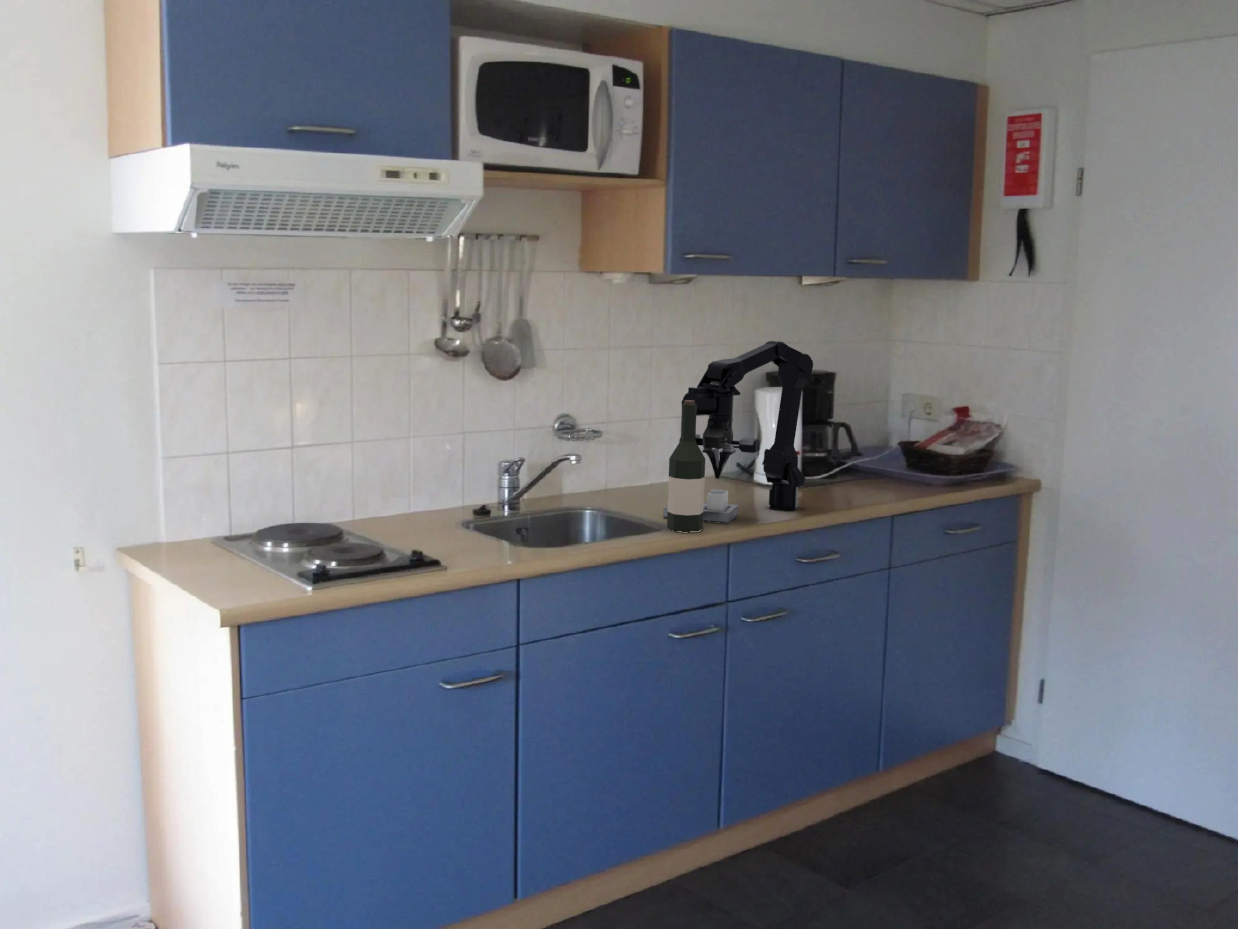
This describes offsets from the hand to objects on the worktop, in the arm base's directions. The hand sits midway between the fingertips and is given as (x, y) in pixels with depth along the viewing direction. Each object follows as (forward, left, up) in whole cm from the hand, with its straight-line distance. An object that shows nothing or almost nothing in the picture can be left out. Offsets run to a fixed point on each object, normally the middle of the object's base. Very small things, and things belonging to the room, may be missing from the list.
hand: (717, 478), depth 294 cm
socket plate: (+4, 0, -10) cm, 11 cm away
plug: (0, 0, -9) cm, 9 cm away
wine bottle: (+4, +15, -10) cm, 19 cm away
